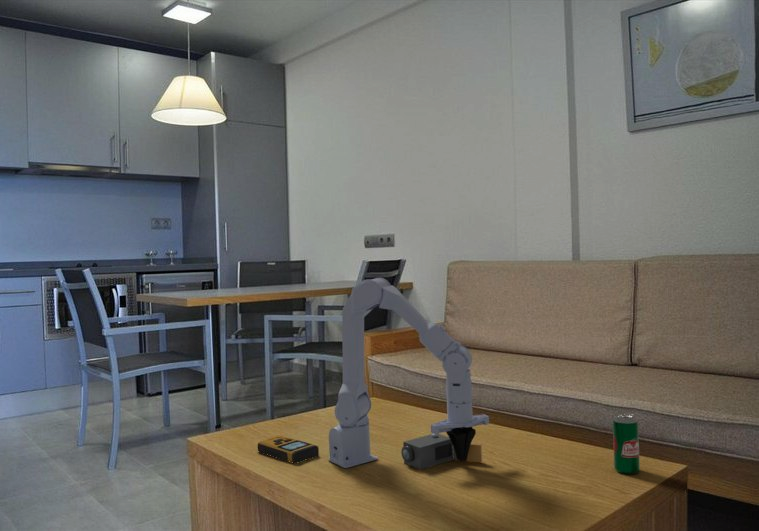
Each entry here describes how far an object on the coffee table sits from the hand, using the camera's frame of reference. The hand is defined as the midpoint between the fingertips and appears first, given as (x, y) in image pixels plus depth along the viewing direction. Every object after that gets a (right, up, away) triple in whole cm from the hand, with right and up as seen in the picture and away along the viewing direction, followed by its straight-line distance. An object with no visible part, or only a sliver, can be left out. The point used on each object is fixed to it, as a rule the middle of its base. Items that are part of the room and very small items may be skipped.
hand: (461, 460), depth 141 cm
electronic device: (-42, -4, +15) cm, 45 cm away
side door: (+2, -1, +3) cm, 4 cm away
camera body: (-7, -2, +4) cm, 8 cm away
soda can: (+35, 0, -8) cm, 35 cm away
